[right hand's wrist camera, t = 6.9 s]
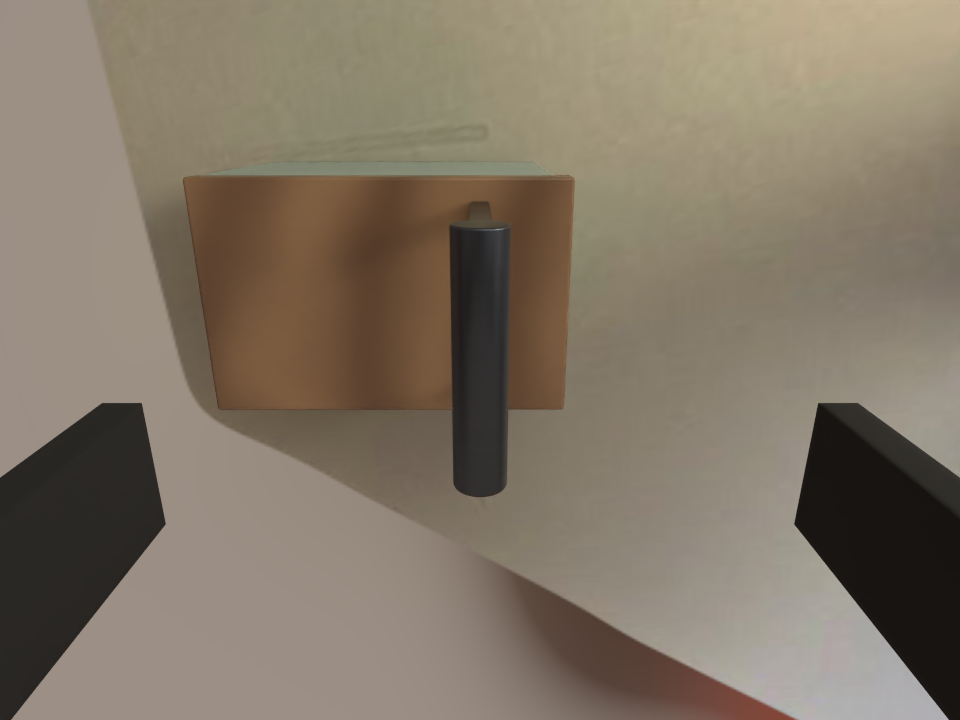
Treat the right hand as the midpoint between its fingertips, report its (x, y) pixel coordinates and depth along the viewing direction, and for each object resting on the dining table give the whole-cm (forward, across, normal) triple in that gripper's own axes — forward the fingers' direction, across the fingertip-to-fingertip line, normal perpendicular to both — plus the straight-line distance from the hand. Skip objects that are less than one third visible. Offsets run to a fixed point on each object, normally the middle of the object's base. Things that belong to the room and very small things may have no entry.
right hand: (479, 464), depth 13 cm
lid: (+14, -4, 0) cm, 14 cm away
